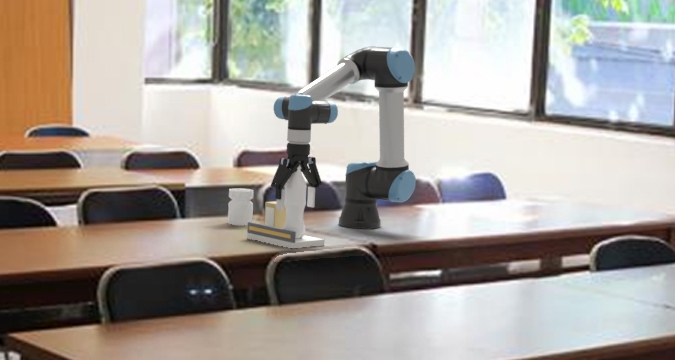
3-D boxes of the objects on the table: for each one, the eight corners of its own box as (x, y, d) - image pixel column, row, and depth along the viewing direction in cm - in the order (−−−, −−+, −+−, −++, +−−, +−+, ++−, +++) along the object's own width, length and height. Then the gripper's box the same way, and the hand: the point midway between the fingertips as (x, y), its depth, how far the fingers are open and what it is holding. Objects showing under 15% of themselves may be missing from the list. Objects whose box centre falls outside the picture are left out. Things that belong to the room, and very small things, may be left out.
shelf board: (278, 235, 433) (279, 219, 432) (324, 245, 417) (325, 228, 417) (246, 238, 423) (247, 222, 422) (291, 249, 407) (292, 232, 407)
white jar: (251, 226, 450) (252, 192, 449) (226, 224, 450) (227, 190, 449) (253, 222, 459) (254, 189, 458) (228, 221, 459) (230, 187, 458)
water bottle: (280, 238, 414) (282, 161, 411) (286, 235, 421) (288, 159, 418) (302, 240, 413) (304, 162, 410) (307, 236, 420) (309, 160, 417)
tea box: (277, 230, 430) (278, 201, 429) (287, 232, 427) (289, 203, 425) (263, 232, 426) (265, 202, 425) (273, 234, 422) (275, 204, 421)
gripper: (318, 140, 425) (315, 204, 427) (261, 142, 407) (258, 208, 410) (334, 142, 420) (331, 207, 422) (277, 144, 402) (274, 212, 405)
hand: (295, 208), depth 416 cm, fingers open, 13 cm apart
